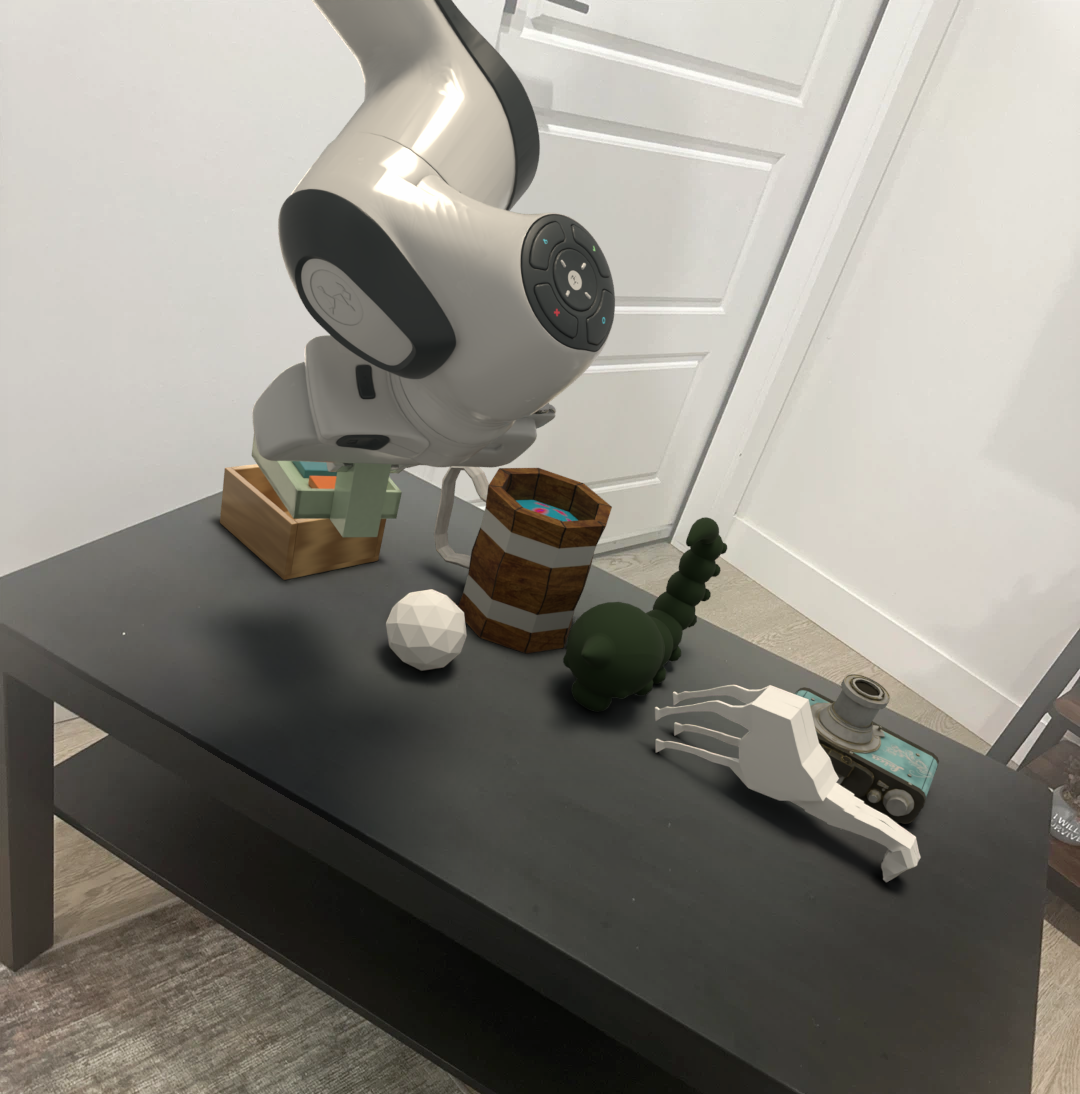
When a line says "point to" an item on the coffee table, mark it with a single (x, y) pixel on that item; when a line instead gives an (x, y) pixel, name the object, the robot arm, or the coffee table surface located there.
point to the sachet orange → (322, 482)
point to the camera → (871, 749)
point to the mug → (525, 554)
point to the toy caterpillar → (641, 629)
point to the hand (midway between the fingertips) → (360, 463)
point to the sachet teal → (313, 469)
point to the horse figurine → (791, 764)
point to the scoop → (336, 495)
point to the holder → (287, 529)
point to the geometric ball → (426, 629)
